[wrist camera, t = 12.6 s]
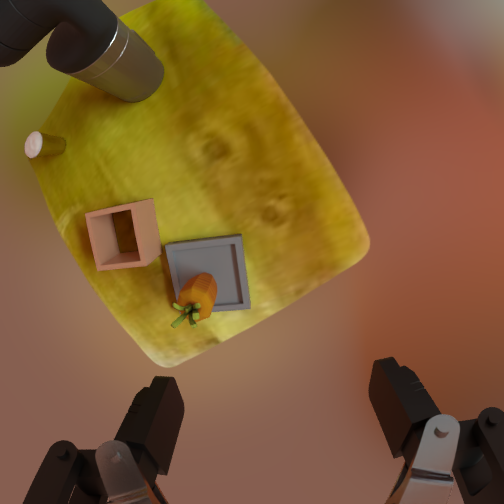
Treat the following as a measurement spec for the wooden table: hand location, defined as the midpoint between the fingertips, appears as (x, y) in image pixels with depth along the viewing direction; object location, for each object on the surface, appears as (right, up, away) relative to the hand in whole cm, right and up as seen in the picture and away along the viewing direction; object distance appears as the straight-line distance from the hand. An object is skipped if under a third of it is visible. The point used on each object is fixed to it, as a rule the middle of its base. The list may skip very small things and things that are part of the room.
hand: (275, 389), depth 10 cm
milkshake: (-37, +25, +29) cm, 53 cm away
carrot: (-8, +2, +34) cm, 35 cm away
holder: (-21, +9, +33) cm, 40 cm away
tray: (-8, +2, +35) cm, 36 cm away
